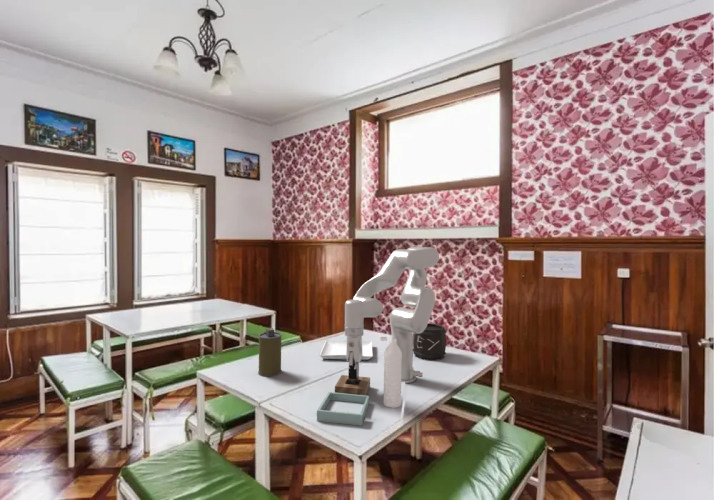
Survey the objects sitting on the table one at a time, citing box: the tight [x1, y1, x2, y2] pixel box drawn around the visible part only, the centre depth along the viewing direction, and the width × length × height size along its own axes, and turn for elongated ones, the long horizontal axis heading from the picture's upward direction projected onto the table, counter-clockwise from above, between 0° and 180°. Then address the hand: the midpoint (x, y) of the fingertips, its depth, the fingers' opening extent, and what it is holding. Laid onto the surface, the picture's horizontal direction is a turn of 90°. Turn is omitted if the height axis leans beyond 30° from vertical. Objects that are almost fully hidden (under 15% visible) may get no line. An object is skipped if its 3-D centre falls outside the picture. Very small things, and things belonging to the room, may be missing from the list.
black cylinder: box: [412, 322, 447, 361], centre depth 198 cm, size 18×18×16 cm
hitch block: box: [334, 374, 371, 396], centre depth 147 cm, size 12×12×5 cm
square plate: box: [318, 339, 374, 361], centre depth 200 cm, size 27×27×4 cm
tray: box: [316, 391, 370, 427], centre depth 132 cm, size 16×16×4 cm
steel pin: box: [346, 359, 362, 385], centre depth 147 cm, size 6×6×12 cm
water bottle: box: [379, 336, 402, 409], centre depth 138 cm, size 9×6×25 cm
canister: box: [257, 327, 283, 377], centre depth 170 cm, size 11×10×20 cm
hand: (353, 375), depth 147 cm, fingers closed on steel pin, 4 cm apart
